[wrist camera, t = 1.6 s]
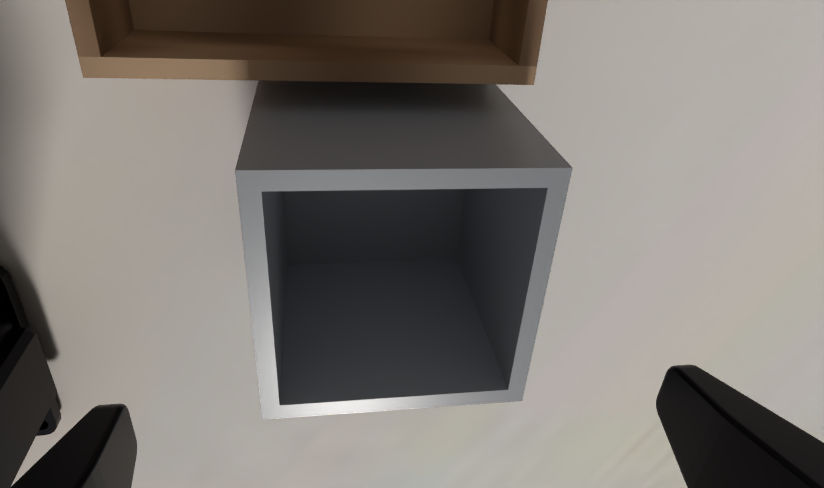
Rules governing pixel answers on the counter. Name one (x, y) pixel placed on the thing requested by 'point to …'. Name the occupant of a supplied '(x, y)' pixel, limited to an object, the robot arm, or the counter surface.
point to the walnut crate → (311, 40)
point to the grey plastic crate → (394, 244)
